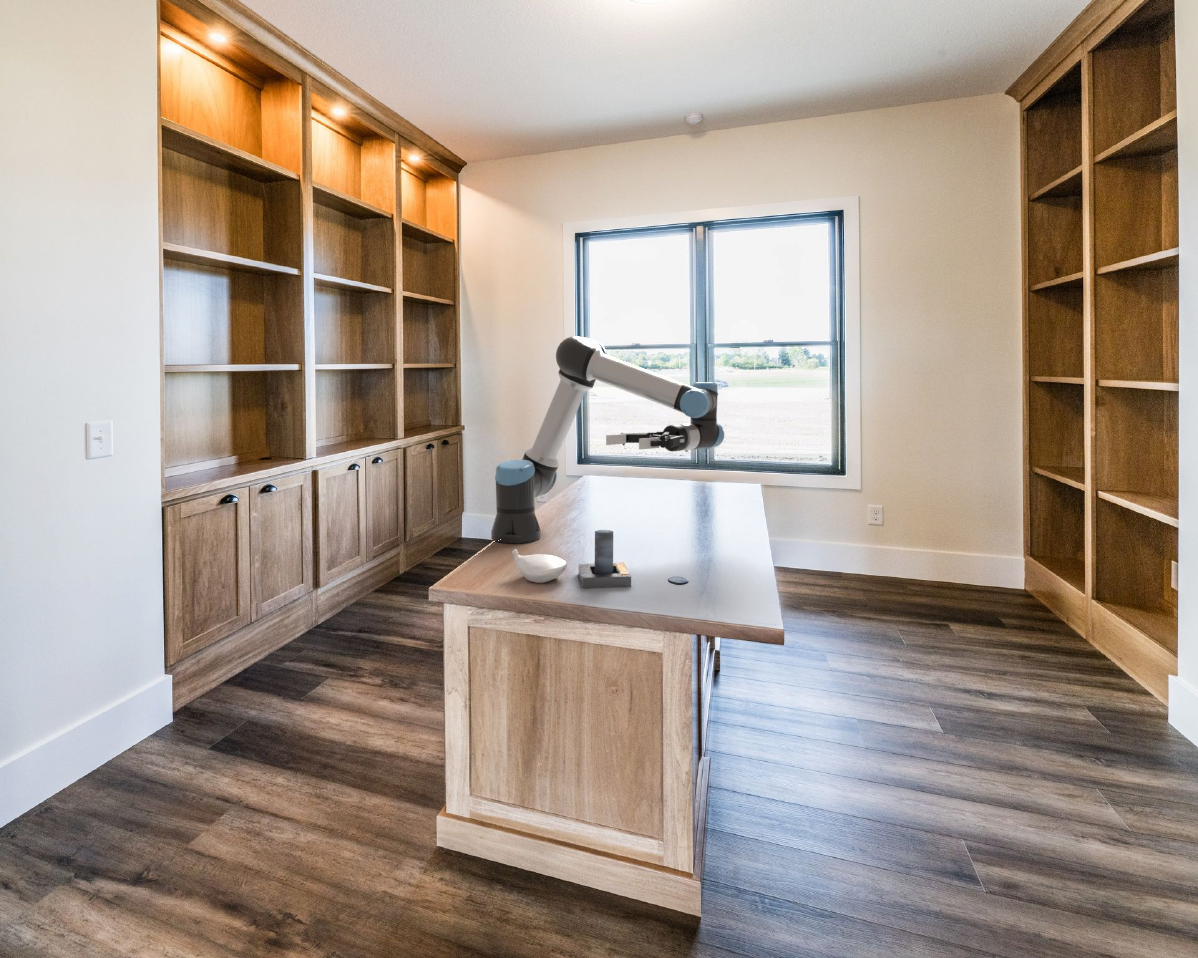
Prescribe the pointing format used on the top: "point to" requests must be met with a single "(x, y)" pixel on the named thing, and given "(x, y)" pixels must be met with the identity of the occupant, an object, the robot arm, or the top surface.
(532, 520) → the robot arm
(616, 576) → the socket block
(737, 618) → the top surface
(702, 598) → the top surface
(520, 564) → the driver head
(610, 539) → the peg
